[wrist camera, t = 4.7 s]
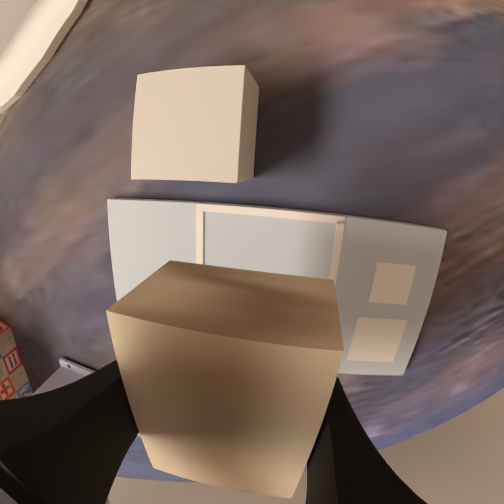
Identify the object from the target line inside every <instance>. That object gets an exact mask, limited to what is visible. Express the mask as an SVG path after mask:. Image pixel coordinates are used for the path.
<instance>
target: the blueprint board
mask: <svg viewBox="0 0 504 504" xmlns="http://www.w3.org/2000/svg"><path fill="white" fill-rule="evenodd" d="M107 204H108V223H109V237H110V249H111V259H112V268H113V276H114V284H115V291H116V298H117V301H119V300H120V299H121V298H122V297H124V296H125V295H126V294H127V293H129V292H130V291H131V290H132V289H134V288H135V287H136V286H137V285H139V284H140V283H141V282H143V281H144V280H145V279H146V278H148V277H149V276H150V275H152V274H153V273H154V272H155V271H157V270H158V269H159V268H161V267H162V266H163V265H164V264H166V263H167V262H168V261H170V260H173V261H181V262H188V263H196V264H204V265H212V266H220V267H228V268H236V269H244V270H253V271H261V272H269V273H278V274H287V275H296V276H305V277H314V278H323V279H332V280H334V286H335V292H336V298H337V305H338V311H339V318H340V325H341V332H342V339H343V347H344V353H343V357H342V361H341V364H340V368H339V371H338V373H343V374H362V375H403V374H404V372H405V369H406V367H407V365H408V362H409V360H410V357H411V355H412V352H413V350H414V347H415V344H416V342H417V339H418V336H419V333H420V331H421V328H422V325H423V322H424V319H425V316H426V313H427V310H428V306H429V303H430V300H431V296H432V293H433V290H434V286H435V282H436V279H437V275H438V271H439V267H440V263H441V258H442V254H443V249H444V245H445V240H446V235H447V231H446V230H445V229H443V228H437V227H431V226H424V225H418V224H411V223H404V222H398V221H390V220H383V219H376V218H368V217H360V216H352V215H344V214H335V213H327V212H317V211H308V210H298V209H288V208H277V207H266V206H254V205H242V204H228V203H214V202H198V201H180V200H159V199H133V198H111V199H107Z"/></svg>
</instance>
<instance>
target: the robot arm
mask: <svg viewBox="0 0 504 504" xmlns="http://www.w3.org/2000/svg"><path fill="white" fill-rule="evenodd" d="M59 362H60V365H61V367H60V368H59V369H58V370H57V371H56V372H55V373H54V374H53V375H52V376H51V377H49V378H48V379H47V380H46V381H45V382H44V383H43V384H42V385H41V386H40V387H39V388H38V389H37V390H36V391H35V392H34V393H33V394H32V395H31V396H28V397H22V398H16V399H8V400H0V504H109V500H108V498H107V497H108V495H109V492H110V489H111V486H112V484H113V482H114V479H115V477H116V474H117V472H118V470H119V467H120V465H121V463H122V461H123V459H124V456H125V455H126V453H127V451H128V449H129V447H130V446H131V444H132V443H133V441H134V439H135V438H136V436H137V435H138V436H140V433H139V430H138V427H137V425H136V422H135V419H134V416H133V413H132V410H131V407H130V404H129V401H128V397H127V394H126V391H125V387H124V384H123V380H122V377H121V373H120V370H119V366H118V362H117V360H115V361H114V362H112V363H110V364H108V365H106V366H105V367H103V368H101V369H99V370H97V371H94V370H91V369H89V368H86V367H84V366H81V365H79V364H76V363H74V362H72V361H69V360H67V359H65V358H60V359H59ZM306 504H427V503H426V502H425V501H423V500H422V499H421V498H420V497H419V496H417V495H416V494H415V493H414V492H413V491H412V490H411V489H410V488H409V487H408V486H407V485H406V484H405V483H404V482H403V481H402V480H401V479H400V478H399V477H398V476H397V475H396V474H395V472H394V471H393V470H392V469H391V468H390V466H389V465H388V464H387V463H386V461H385V460H384V459H383V457H382V456H381V455H380V454H379V452H378V451H377V449H376V448H375V446H374V445H373V443H372V442H371V440H370V439H369V437H368V436H367V434H366V432H365V431H364V429H363V427H362V426H361V424H360V422H359V420H358V418H357V416H356V415H355V413H354V411H353V409H352V407H351V405H350V403H349V401H348V399H347V396H346V394H345V392H344V390H343V387H342V385H341V383H340V380H339V379H338V377H337V378H336V381H335V385H334V388H333V391H332V394H331V397H330V400H329V403H328V406H327V409H326V412H325V415H324V418H323V421H322V424H321V427H320V430H319V432H318V435H317V438H316V440H315V443H314V446H313V448H312V451H311V453H310V456H309V458H308V461H307V497H306Z"/></svg>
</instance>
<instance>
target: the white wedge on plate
mask: <svg viewBox="0 0 504 504" xmlns="http://www.w3.org/2000/svg"><path fill="white" fill-rule="evenodd" d="M87 1H88V0H0V115H1V114H2V113H3V112H4V111H5V110H6V109H8V108H9V107H10V106H11V105H12V104H13V103H15V102H16V101H17V100H18V99H19V98H21V97H22V96H23V94H24V93H25V91H26V90H27V89H28V87H29V86H30V85H31V83H32V82H33V81H34V79H35V78H36V77H37V76H38V74H39V73H40V72H41V71H42V69H43V68H44V67H45V66H46V65H47V63H48V62H49V61H50V60H51V58H52V56H53V55H54V53H55V51H56V50H57V48H58V47H59V45H60V43H61V42H62V40H63V39H64V37H65V36H66V34H67V33H68V31H69V30H70V28H71V27H72V26H73V24H74V23H75V21H76V20H77V19H78V17H79V16H80V14H81V13H82V11H83V9H84V7H85V5H86V3H87Z"/></svg>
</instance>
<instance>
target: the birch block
mask: <svg viewBox="0 0 504 504" xmlns="http://www.w3.org/2000/svg"><path fill="white" fill-rule="evenodd" d="M106 312H107V318H108V323H109V327H110V332H111V337H112V341H113V346H114V350H115V354H116V358H117V362H118V366H119V370H120V373H121V377H122V380H123V384H124V387H125V391H126V394H127V397H128V401H129V404H130V407H131V410H132V413H133V416H134V419H135V422H136V425H137V427H138V430H139V433H140V436H141V438H142V441H143V443H144V446H145V449H146V451H147V454H148V456H149V458H150V461H151V463H152V466H153V468H155V469H158V470H161V471H164V472H167V473H170V474H173V475H176V476H180V477H183V478H186V479H190V480H193V481H197V482H201V483H205V484H209V485H213V486H217V487H222V488H227V489H231V490H236V491H241V492H247V493H253V494H260V495H267V496H274V497H284V498H292V496H293V493H294V491H295V489H296V487H297V484H298V482H299V480H300V478H301V475H302V473H303V471H304V468H305V466H306V463H307V461H308V458H309V456H310V453H311V451H312V448H313V446H314V443H315V440H316V438H317V435H318V432H319V430H320V427H321V424H322V421H323V418H324V415H325V412H326V409H327V406H328V403H329V400H330V397H331V394H332V391H333V388H334V385H335V381H336V378H337V375H338V371H339V368H340V364H341V361H342V357H343V353H344V347H343V339H342V332H341V325H340V318H339V311H338V305H337V298H336V292H335V286H334V280H332V279H323V278H314V277H305V276H296V275H287V274H278V273H269V272H261V271H253V270H244V269H236V268H228V267H220V266H212V265H204V264H196V263H188V262H181V261H173V260H170V261H168V262H167V263H166V264H164V265H163V266H162V267H161V268H159V269H158V270H157V271H155V272H154V273H153V274H152V275H150V276H149V277H148V278H146V279H145V280H144V281H143V282H141V283H140V284H139V285H137V286H136V287H135V288H134V289H132V290H131V291H130V292H129V293H127V294H126V295H125V296H124V297H122V298H121V299H120V300H119V301H117V302H116V303H115V304H114V305H112V306H111V307H110V308H109V309H107V310H106Z"/></svg>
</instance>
